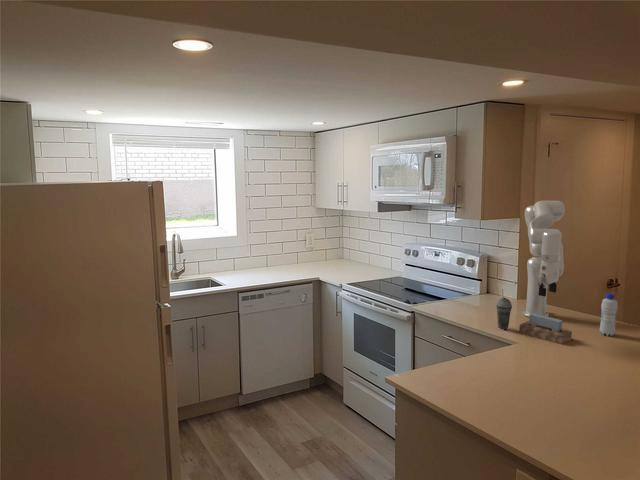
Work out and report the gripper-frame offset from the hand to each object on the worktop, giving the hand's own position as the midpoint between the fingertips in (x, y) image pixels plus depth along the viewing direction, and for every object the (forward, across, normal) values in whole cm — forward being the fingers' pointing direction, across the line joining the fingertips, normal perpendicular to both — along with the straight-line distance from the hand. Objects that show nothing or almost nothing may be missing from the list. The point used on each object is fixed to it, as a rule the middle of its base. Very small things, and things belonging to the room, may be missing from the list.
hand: (547, 293), depth 222 cm
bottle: (+21, +23, -18) cm, 36 cm away
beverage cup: (+21, -7, +18) cm, 28 cm away
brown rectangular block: (+20, -1, 0) cm, 20 cm away
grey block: (+20, -1, 0) cm, 20 cm away
